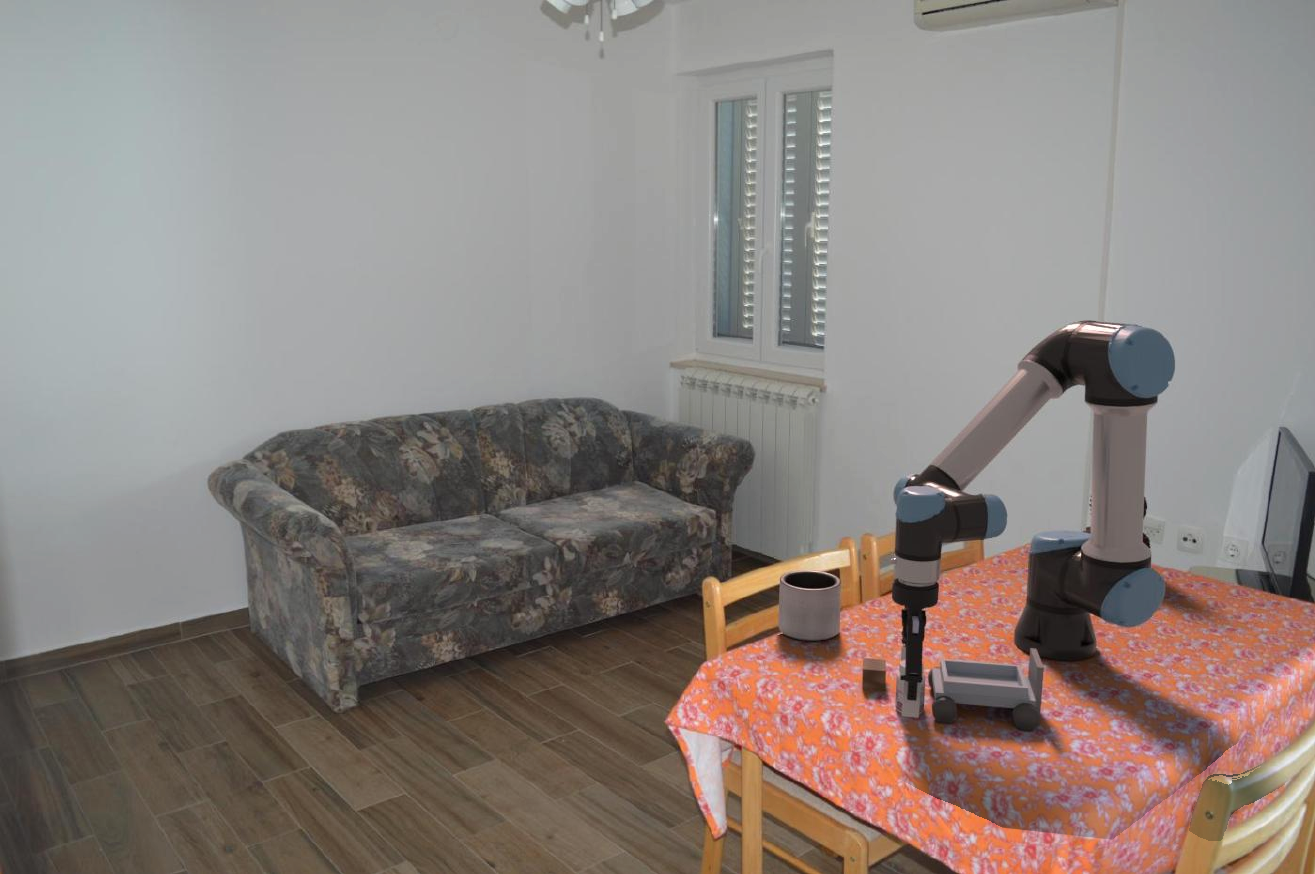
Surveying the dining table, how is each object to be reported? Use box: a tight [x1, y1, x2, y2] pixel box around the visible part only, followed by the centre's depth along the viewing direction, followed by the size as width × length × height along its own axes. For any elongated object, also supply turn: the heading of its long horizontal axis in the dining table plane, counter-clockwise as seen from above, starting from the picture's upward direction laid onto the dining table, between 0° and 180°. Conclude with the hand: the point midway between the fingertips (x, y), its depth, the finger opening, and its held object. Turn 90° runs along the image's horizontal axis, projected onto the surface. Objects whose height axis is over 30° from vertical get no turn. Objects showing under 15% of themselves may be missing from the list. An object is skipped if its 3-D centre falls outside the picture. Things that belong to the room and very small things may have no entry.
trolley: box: [927, 648, 1045, 732], centre depth 174 cm, size 18×14×10 cm
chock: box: [861, 657, 887, 692], centre depth 184 cm, size 4×5×4 cm
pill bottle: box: [895, 660, 926, 715], centre depth 173 cm, size 5×5×8 cm
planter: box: [777, 569, 842, 642], centre depth 208 cm, size 13×13×11 cm
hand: (908, 698), depth 174 cm, fingers open, 13 cm apart
